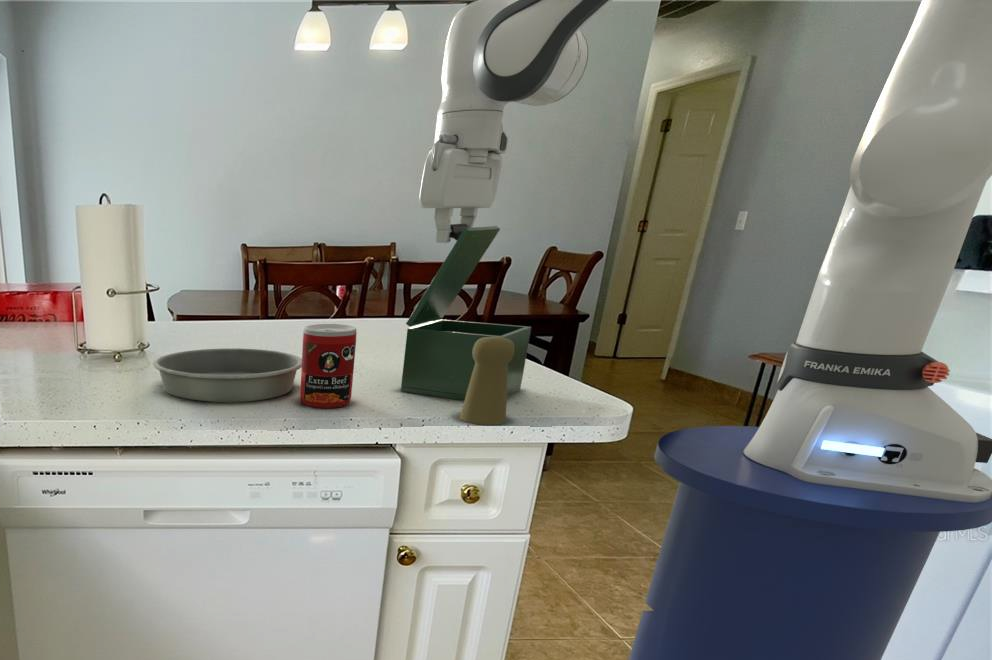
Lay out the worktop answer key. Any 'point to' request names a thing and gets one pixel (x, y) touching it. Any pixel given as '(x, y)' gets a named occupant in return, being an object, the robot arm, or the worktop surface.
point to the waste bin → (456, 356)
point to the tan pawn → (488, 382)
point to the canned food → (327, 365)
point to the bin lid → (453, 271)
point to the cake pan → (228, 374)
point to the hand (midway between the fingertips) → (453, 241)
